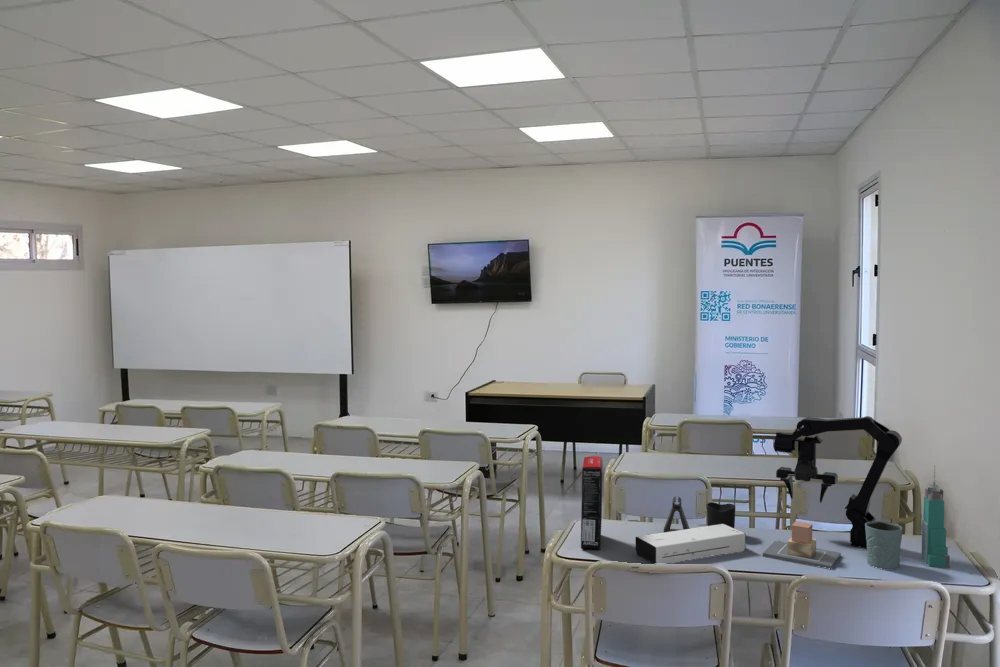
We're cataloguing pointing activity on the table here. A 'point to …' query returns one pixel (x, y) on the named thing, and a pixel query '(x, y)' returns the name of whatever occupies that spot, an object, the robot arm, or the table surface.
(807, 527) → the terracotta block
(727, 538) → the laminator
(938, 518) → the building
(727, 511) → the pen holder
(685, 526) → the pliers
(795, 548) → the oak base block
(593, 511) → the graphics card box
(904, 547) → the table surface
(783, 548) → the grey flat plate
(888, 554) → the green embossed cup
